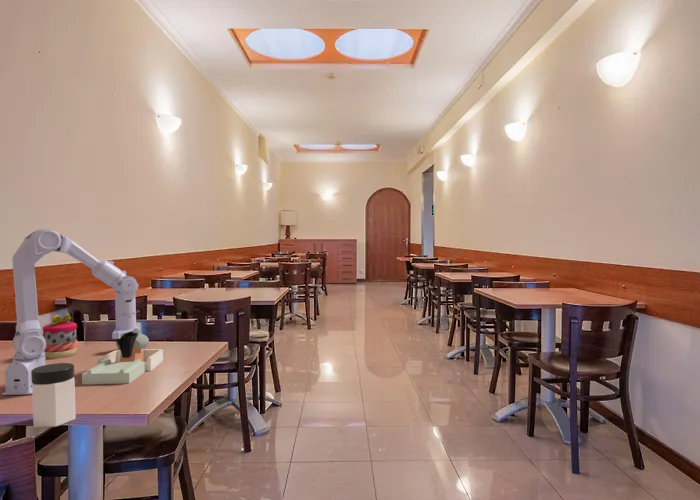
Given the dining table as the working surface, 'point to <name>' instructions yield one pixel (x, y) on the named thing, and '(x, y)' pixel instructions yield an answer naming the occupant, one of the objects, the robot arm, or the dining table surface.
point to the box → (150, 357)
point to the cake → (60, 338)
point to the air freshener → (139, 339)
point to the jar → (53, 394)
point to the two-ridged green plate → (114, 372)
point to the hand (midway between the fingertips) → (126, 357)
